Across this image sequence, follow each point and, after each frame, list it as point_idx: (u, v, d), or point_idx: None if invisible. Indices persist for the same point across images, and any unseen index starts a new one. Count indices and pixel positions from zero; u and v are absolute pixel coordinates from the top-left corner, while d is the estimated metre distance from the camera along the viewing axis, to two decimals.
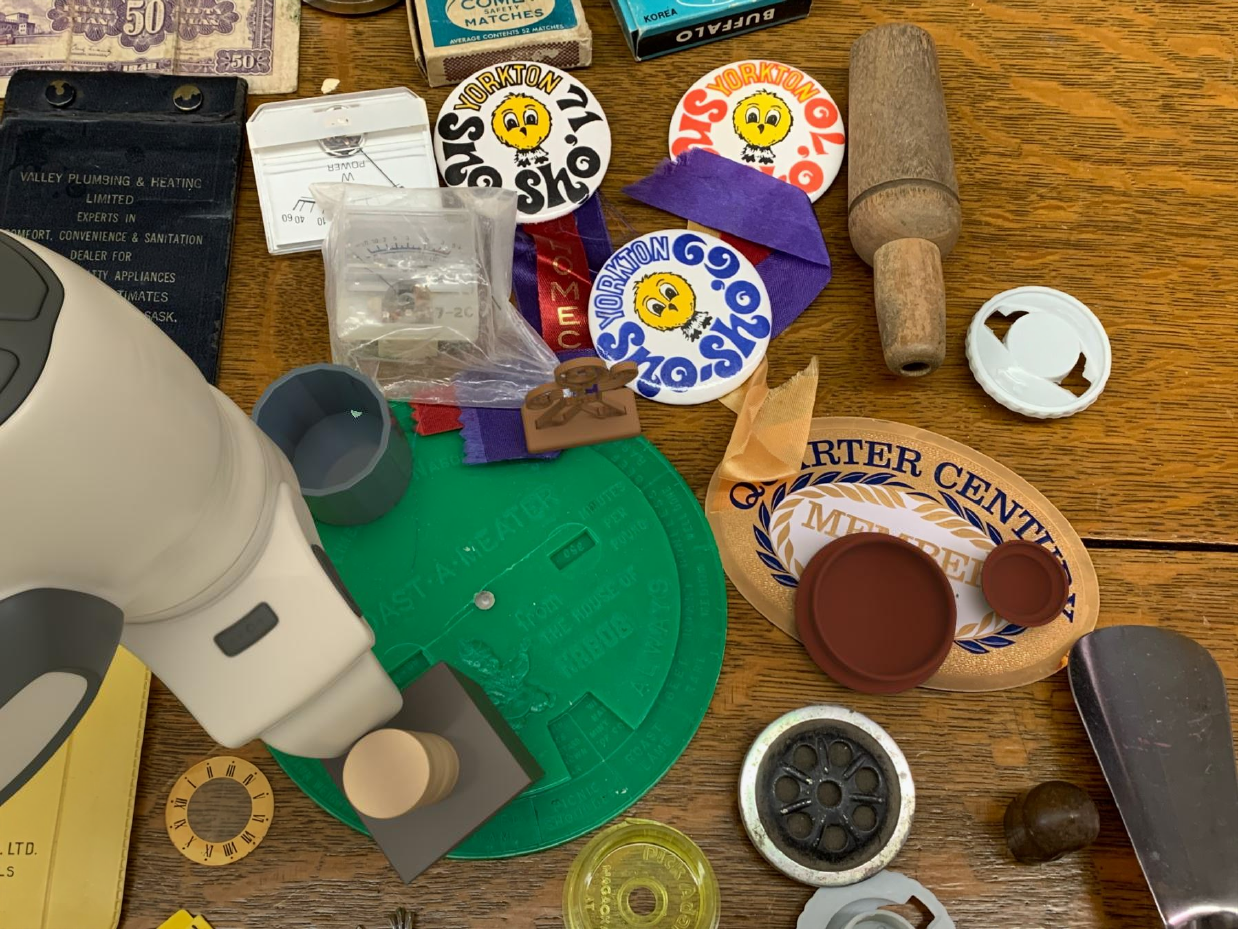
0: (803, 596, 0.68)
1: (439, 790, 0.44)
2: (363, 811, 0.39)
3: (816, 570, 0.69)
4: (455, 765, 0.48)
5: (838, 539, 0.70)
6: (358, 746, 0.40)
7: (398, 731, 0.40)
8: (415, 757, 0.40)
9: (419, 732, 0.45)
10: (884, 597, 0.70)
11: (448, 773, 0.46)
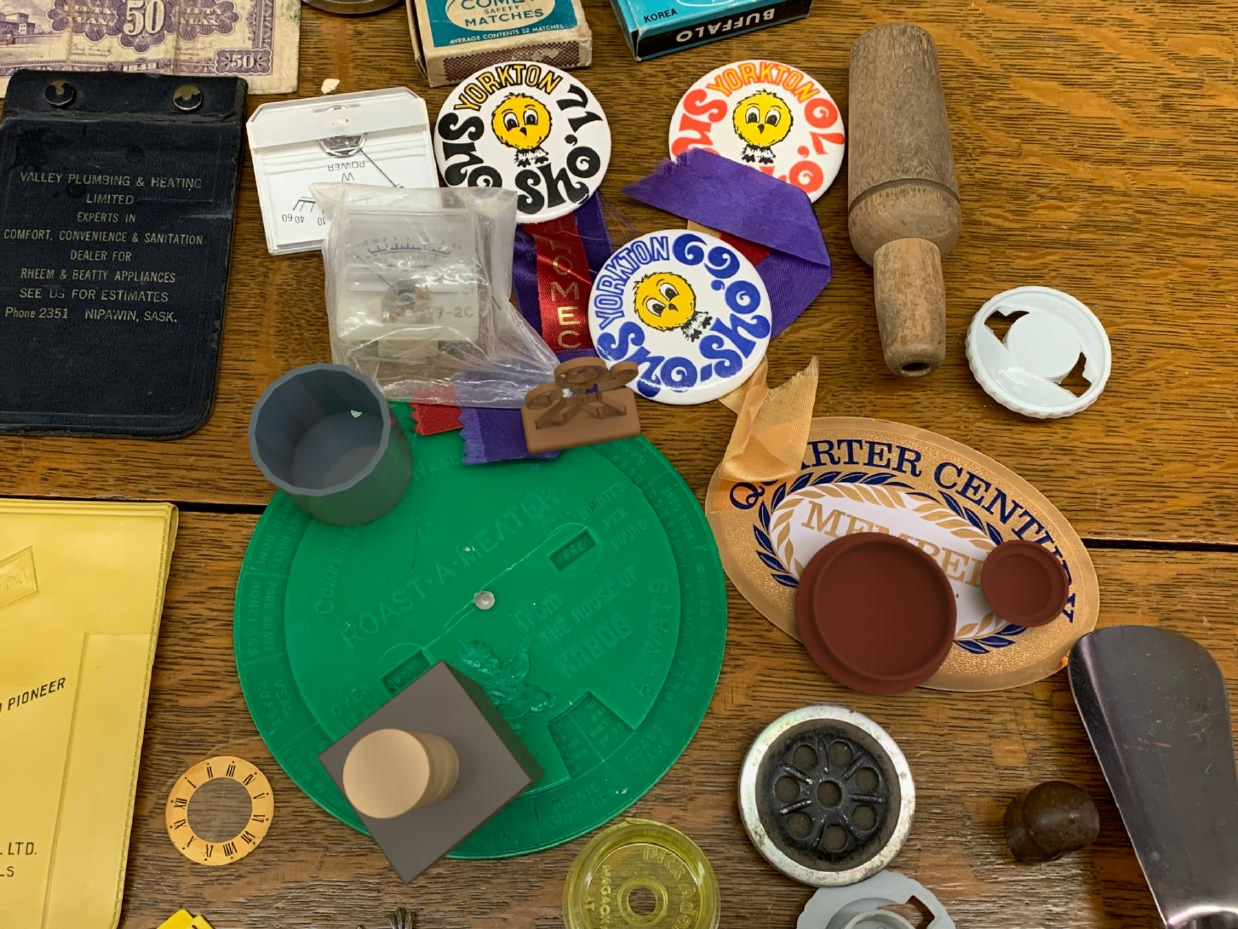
0: (803, 596, 0.68)
1: (439, 790, 0.44)
2: (363, 811, 0.39)
3: (816, 570, 0.69)
4: (455, 765, 0.48)
5: (838, 539, 0.70)
6: (358, 746, 0.40)
7: (398, 731, 0.40)
8: (415, 757, 0.40)
9: (419, 732, 0.45)
10: (884, 597, 0.70)
11: (448, 773, 0.46)
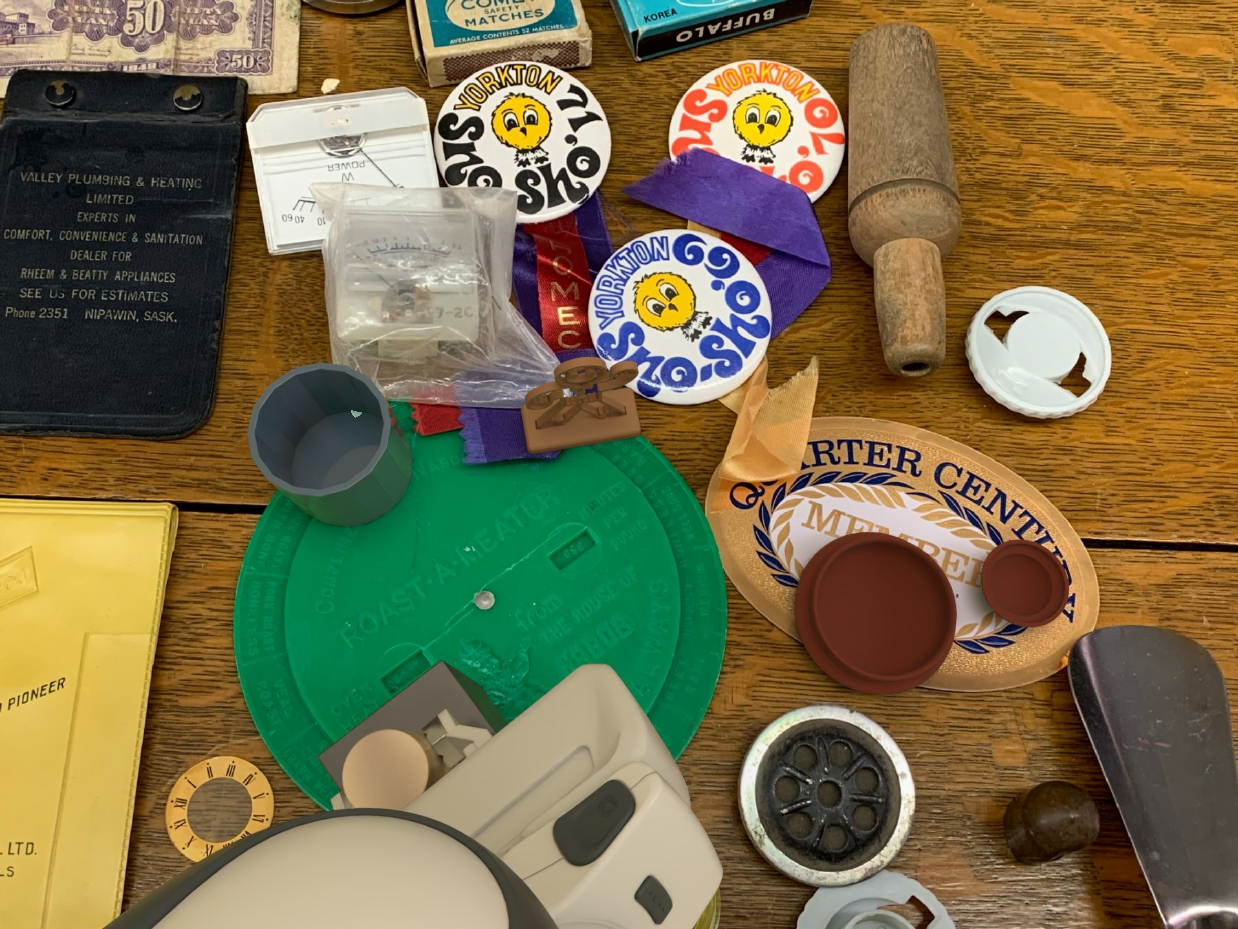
0: (803, 596, 0.68)
1: None
2: None
3: (816, 570, 0.69)
4: (454, 765, 0.48)
5: (838, 539, 0.70)
6: (358, 746, 0.40)
7: (397, 732, 0.40)
8: (414, 758, 0.40)
9: (418, 732, 0.45)
10: (884, 597, 0.70)
11: None
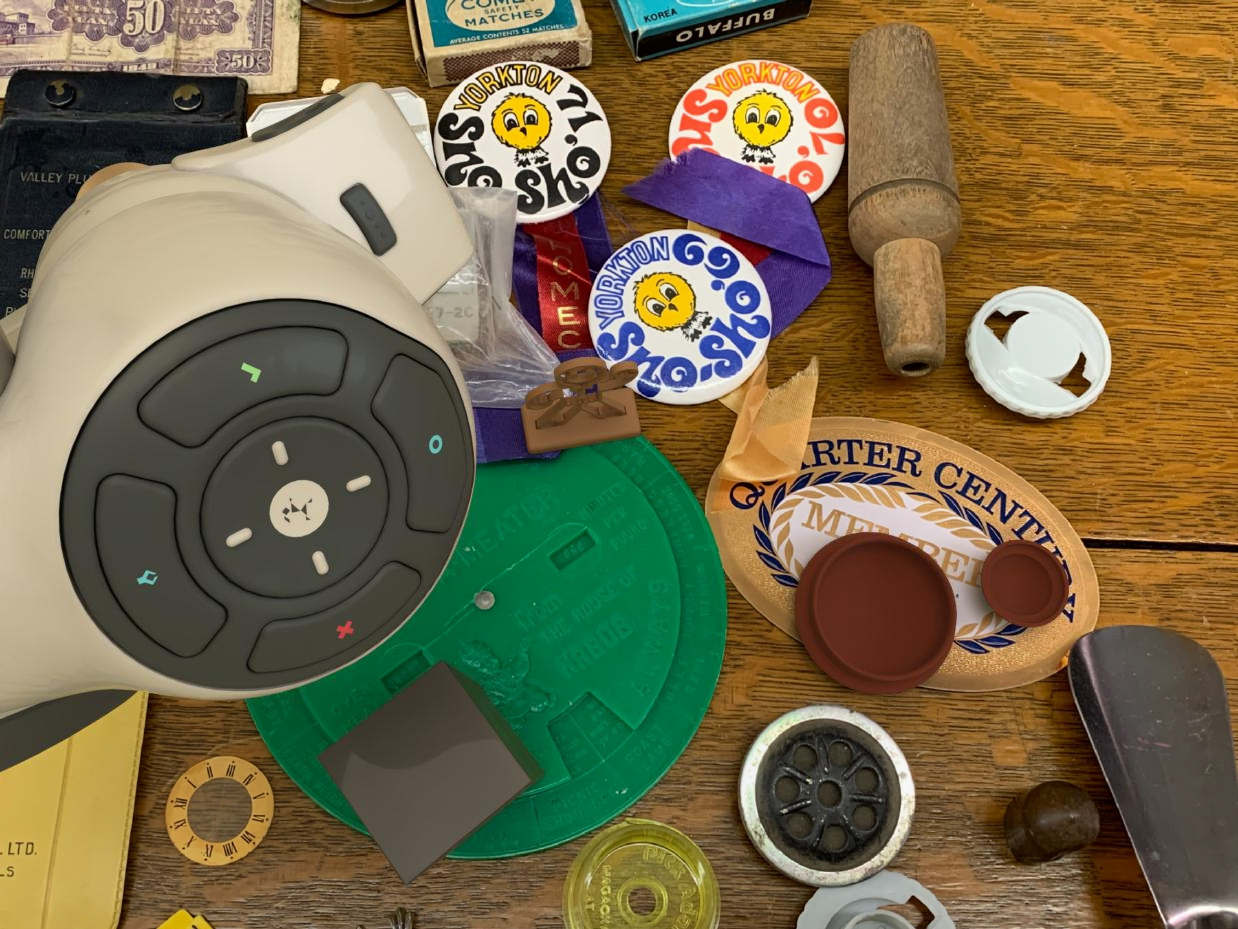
0: (803, 596, 0.68)
1: None
2: None
3: (816, 570, 0.69)
4: None
5: (838, 539, 0.70)
6: (95, 177, 0.36)
7: (140, 164, 0.36)
8: None
9: None
10: (884, 597, 0.70)
11: None
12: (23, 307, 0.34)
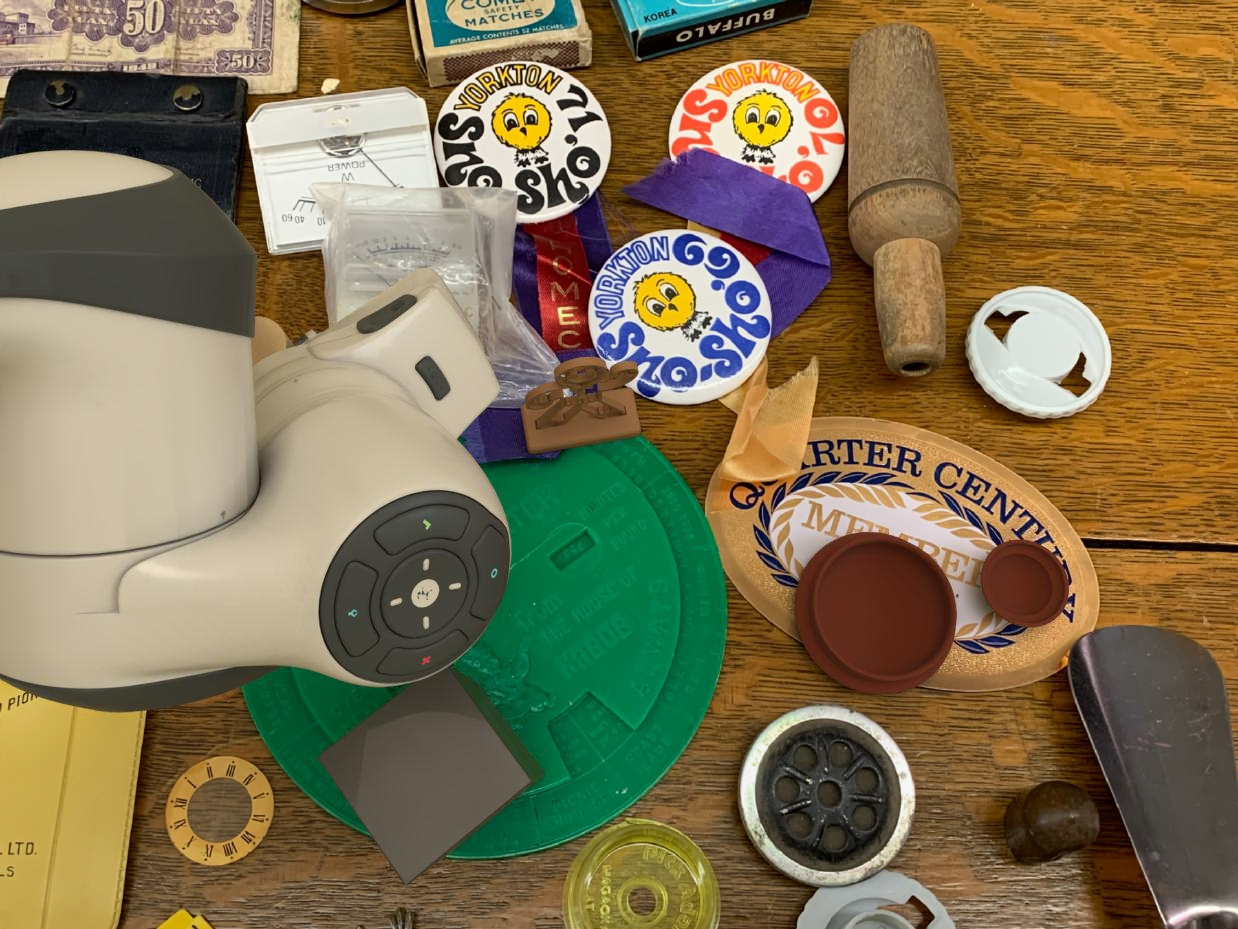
0: (803, 596, 0.68)
1: None
2: None
3: (816, 570, 0.69)
4: None
5: (838, 539, 0.70)
6: None
7: (263, 317, 0.52)
8: (276, 335, 0.51)
9: None
10: (884, 597, 0.70)
11: None
12: None
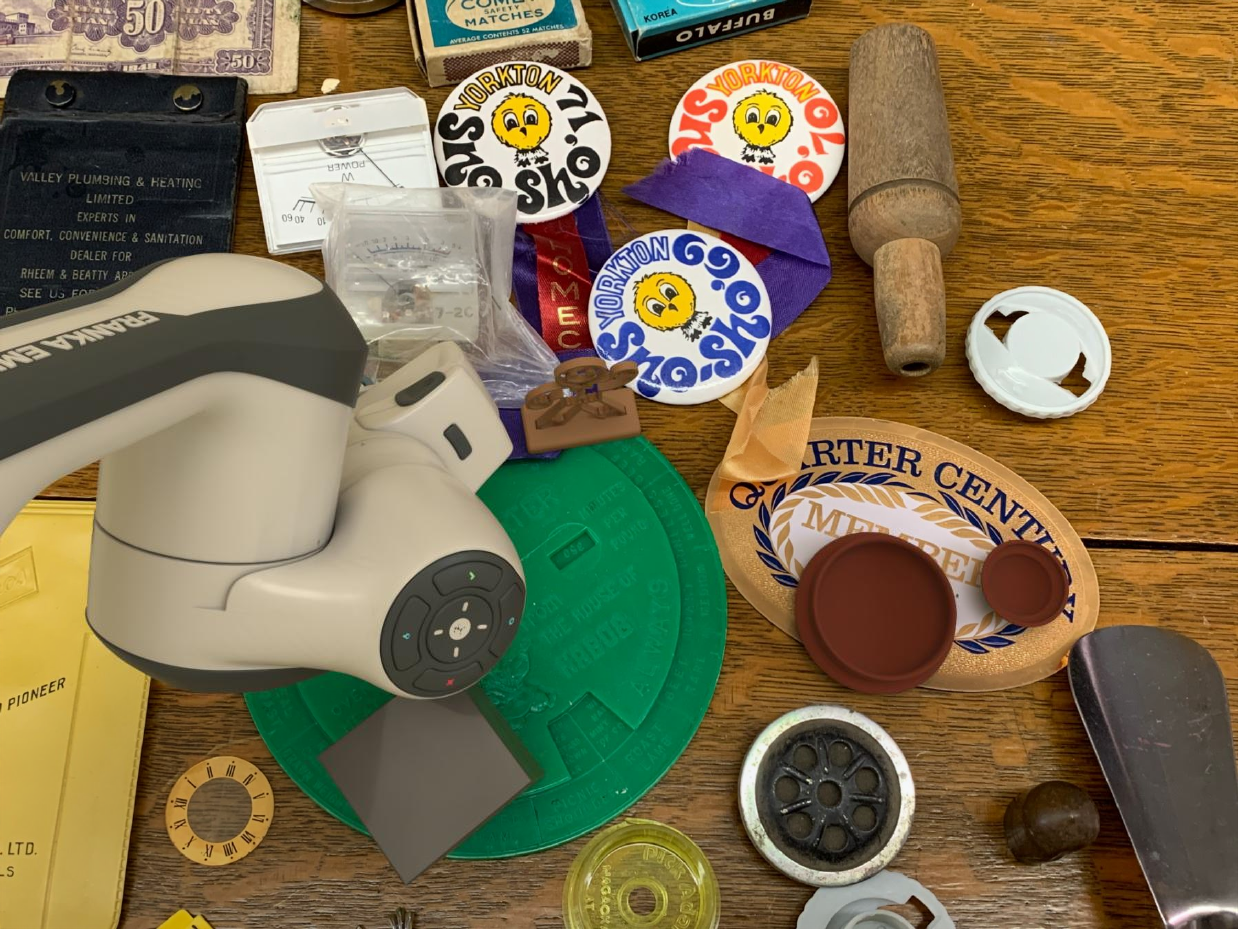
0: (803, 596, 0.68)
1: None
2: None
3: (816, 570, 0.69)
4: None
5: (838, 539, 0.70)
6: None
7: None
8: None
9: None
10: (884, 597, 0.70)
11: None
12: None
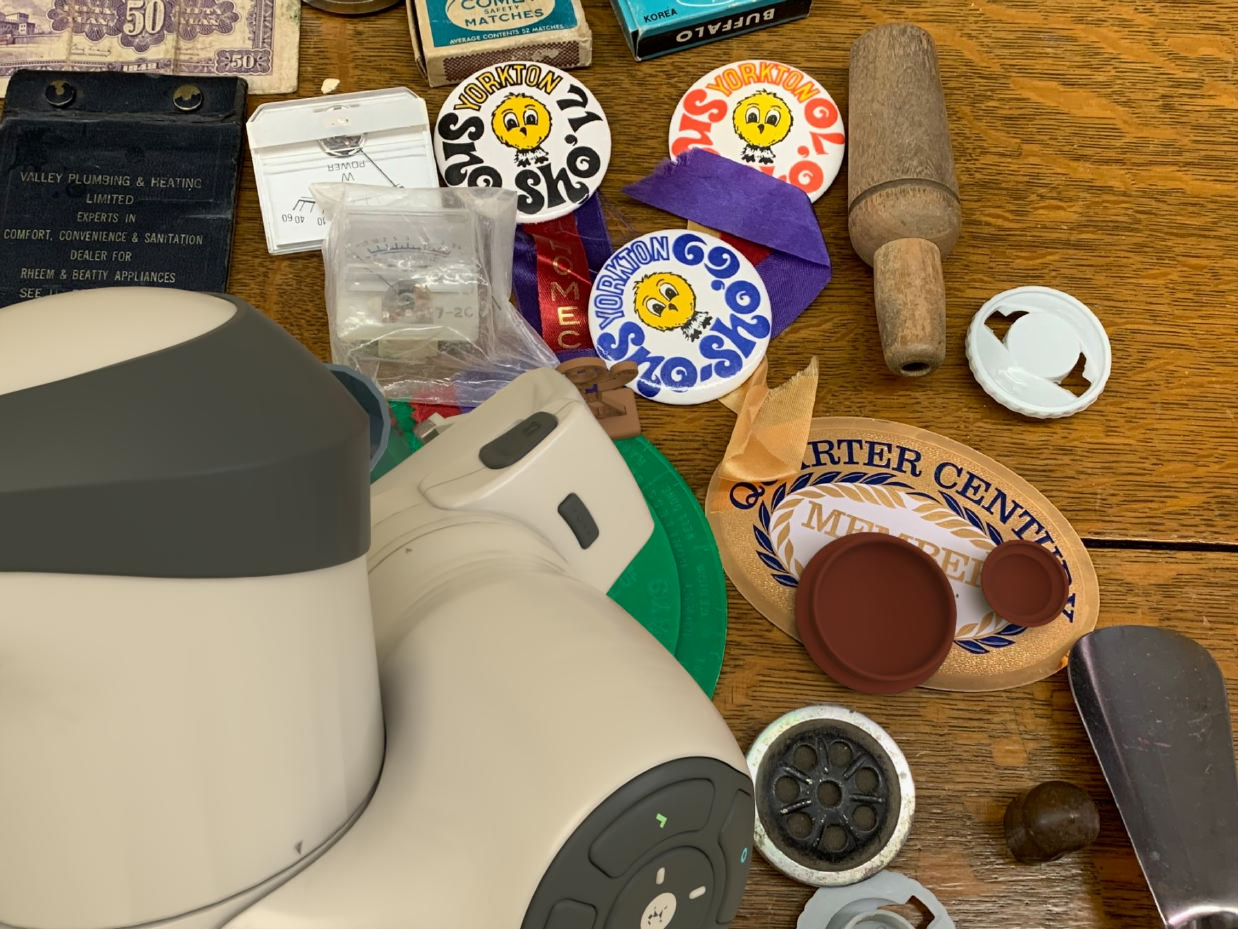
0: (803, 596, 0.68)
1: None
2: None
3: (816, 570, 0.69)
4: None
5: (838, 539, 0.70)
6: None
7: None
8: None
9: None
10: (884, 597, 0.70)
11: None
12: None
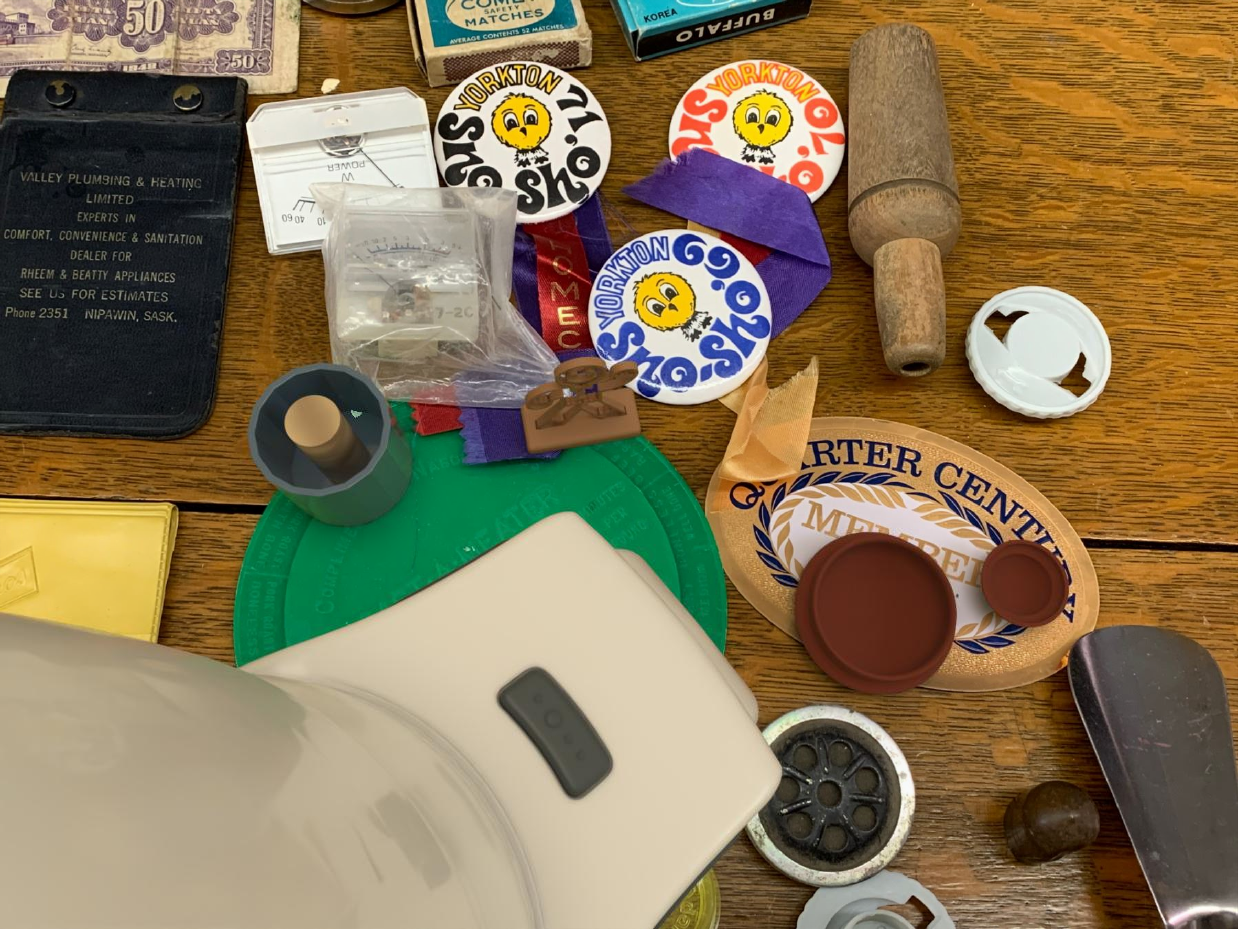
0: (803, 596, 0.68)
1: (352, 455, 0.67)
2: (297, 442, 0.62)
3: (816, 570, 0.69)
4: (368, 456, 0.71)
5: (838, 539, 0.70)
6: (295, 404, 0.63)
7: (320, 396, 0.63)
8: (331, 411, 0.63)
9: None
10: (884, 597, 0.70)
11: (360, 450, 0.68)
12: None
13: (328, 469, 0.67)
